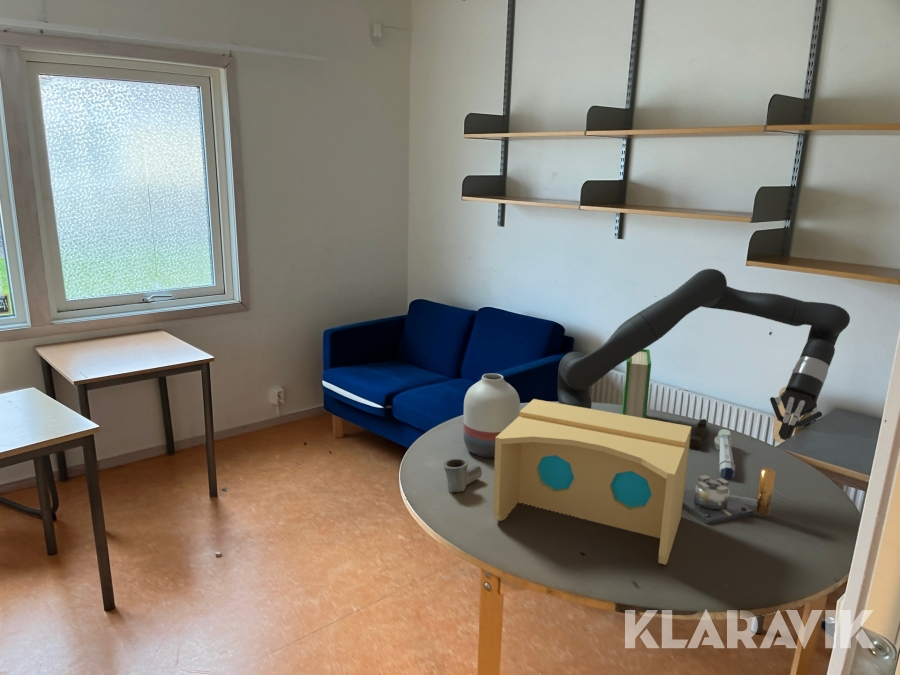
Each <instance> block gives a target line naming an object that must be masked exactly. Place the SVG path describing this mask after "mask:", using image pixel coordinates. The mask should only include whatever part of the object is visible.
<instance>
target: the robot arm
mask: <svg viewBox="0 0 900 675" xmlns="http://www.w3.org/2000/svg"><path fill="white" fill-rule="evenodd" d="M727 284H728V283H727V277H726V275H725V274H724V273H723V272H722V271H720V270H718V269H715V268H706V269H702V270H700V271H698V272H696V273H695V274H694V275H693V276H691V277H690V278H689V279H688V280H686V281H685V282H684V283H683V284H682V285H680V286H679V287H677V288H676V289H675V290H674V291H673V292H671V293H669V294H667V295H666V296H664V297H663V298H661V299H659V300H657V301H655V302H654V303H652V304H650V305H649V306H648V307H646V308H644V309H642V310H641V311H639V312H638V313H636V314H634V315H632V316H631V317H630V318H628V319H627V320H625V321H624V322H623V323H621V324H620V326H618V327H617V328H616V330H615V331H614V332H613V334H612V335H611V336H609V338H608V339H607V341H606V342H604V343H603V344H602V345H601V346H600V347H598V348H596V349H595V350H593V351H592V352H590V353H588V354H584V353H582V352H580V351H569V352H568V353H566V354H565V355H563V357H562V358H561V360H560V362H559V365H558V369H557V370H558V372H557V399H558V403H559V404H565V405H571V406H577V407H582V408H588V409H592V405H593V404H592V398H591V393H590V387H592V386H594V384H596V383H598V382H599V381H600V380H601V379H602V378H603V377H604V376H606V375H607V374H609V372H611V371H612V370H613V369H615V368H616V367H617V366H619V365H620V364H622V363H624V362H626V360H627V359H629V358H630V357H632V356H633V355H635V354H636V353H638V352H640V351H641V350H643V349H647V348H648V347H649V346H651V345H653V344H654V343H656V342H657V341H659V340H660V339H662V338H663V337H664V336H665V335H666V334H668V332H670V331H671V330H672V329H673V328H674V327H676V325H677V324H679V323H680V322H681V321H682V319H684V318H685V317H687V316H688V315H689V314H690V313H692V312H693V311H694V312H695V311H696V310H697V309H699V308H707V309H715V310H722V311H723V310H724V311H731V312H736V313H740V314H741V313H742V314H747V315H751V316H755V317H759V318H762V319H763V318H764V319H766V320H770V321H774V322H777V323H780V324H785V325H788V326H792V327H801V326H804V325H805V326H810V329H809V332H808V334H807V335H808V336H807V340H806V343H805V344H804V347H803V349H802V352H801V354H800V357H799V359H798V360H797V362H796V364H795V366H794V368H793V369H792V372H791V374H790V378H789V380H788V383H787V385H786V387H785V389H784V391H783V392H781V394H780V396H776V397H773V396H771V397H770V398H769V401H770V404H771V407H772V409H773V411H774V414H775V417H776V420H777V421H778V422H780V423H781V425H780V428H779V431H778V436H779V438H780V440H783V441H786V442H787V441H788V440H791V439H792V436H793V434H794V432H795V430H796V429H805V428H807V427H808V426H810V425H812V424H814V423H816V422H818V421H820V420H822V419H823V413H822V411H819V409H818V408H817V407H818V403H817V401H818V399H819V396H820V394H821V391H822V390H823V387H824V383H825V382H826V379H827V376H828V372H829V368H830V366H831V364H832V361H833V358H834V356H835V352H836V348H835V345H836V343H837V340H838V338H839V337H840V335H841V333H842V332H843V331H844V330H845V329H846V328H847V327H849V324H850V322H851V316H850V314H849V312H848V311H847V310H846V309H845V308H843V307H842V306H839V305H836V304H833V303H826V302H820V301H819V302H816V301H805V300H800V299H798V298H794V297H790V296H786V295H781V294H776V293H768V292H767V293H766V292H751V291H745V290H741V289H736V288H733V287H732V286H731V287H730V286H729V285H727ZM781 403H782V406H783V409H784V410H785V411H784V415H782V413H781V410H780V408H779V406H781ZM807 414H810V415H809V416H808V417H805V418H803V419H802V417H804V416H806V415H807Z"/></svg>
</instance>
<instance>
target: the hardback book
mask: <svg viewBox="0 0 900 675" xmlns="http://www.w3.org/2000/svg"><path fill="white" fill-rule="evenodd" d="M651 360H652V359H651V352H650V349H647V348H645V349H643V350H641V351H640V352H638V353H636V354H635V355H633V356H632V357H630V358H629V359H627V360H625V367H624V368H625V369H624V370H625V371H624V381H623V393H622V406H621V414H623V415H628V416H634V417H640V418H646V419H647V413H648V412H647V411H648V402H649V401H648V400H649V392H650V391H649V390H650V389H649V388H650V380H651V379H650V378H651V371H652V370H651V369H652V361H651Z"/></svg>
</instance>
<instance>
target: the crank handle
mask: <svg viewBox="0 0 900 675" xmlns="http://www.w3.org/2000/svg"><path fill="white" fill-rule="evenodd" d="M776 472H777V471H776V470H775V469H773V468H771V467H761V469H760V475H759V481H758V482H759V483H758V489H757V496H756V498H753V497H747V496H741V495H737V494H730V491H731V490H730V487H729V485H730V484H729V480H726V479H725V478H722V477H720V478H717V479H716V480H715V479H711V477H710V476H708V475H707V474H704V475H699V476H698V478H697V479H698V480H697V481H696V483H695V488H694V489H695V497H694V499H695V501H696V502H697V503H699V504H700V505H702V506H705V507H708V508H713V509H721V508H725V507H727V505H728V501H732V502H737V503H741V504H743V505H749V506H753V507H754V506H755V508H754V509H755V510H754V511H755V512H757V513H759V514H761V515H769V514H770V511H771V505H772V498H773V492H774V485H775V479H776Z"/></svg>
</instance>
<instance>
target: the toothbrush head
mask: <svg viewBox="0 0 900 675" xmlns="http://www.w3.org/2000/svg"><path fill="white" fill-rule="evenodd" d="M733 445H734V440H733V439H732V433H731V431H730V430H728V429H726V428H723V429H720V430H719V431H718V433H717V436H715V437H714V449H716V450H717V451H719V450H720V451H719V462H718V468H717V469H718V471H719V476H720V478H723V479H725V478H727V480H732V479H734V478H735V476H736V475H735V474H736V473H735V472H736V466H737V465H736V464H734V463H735V462H734V457H733V451H732V446H733Z"/></svg>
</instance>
